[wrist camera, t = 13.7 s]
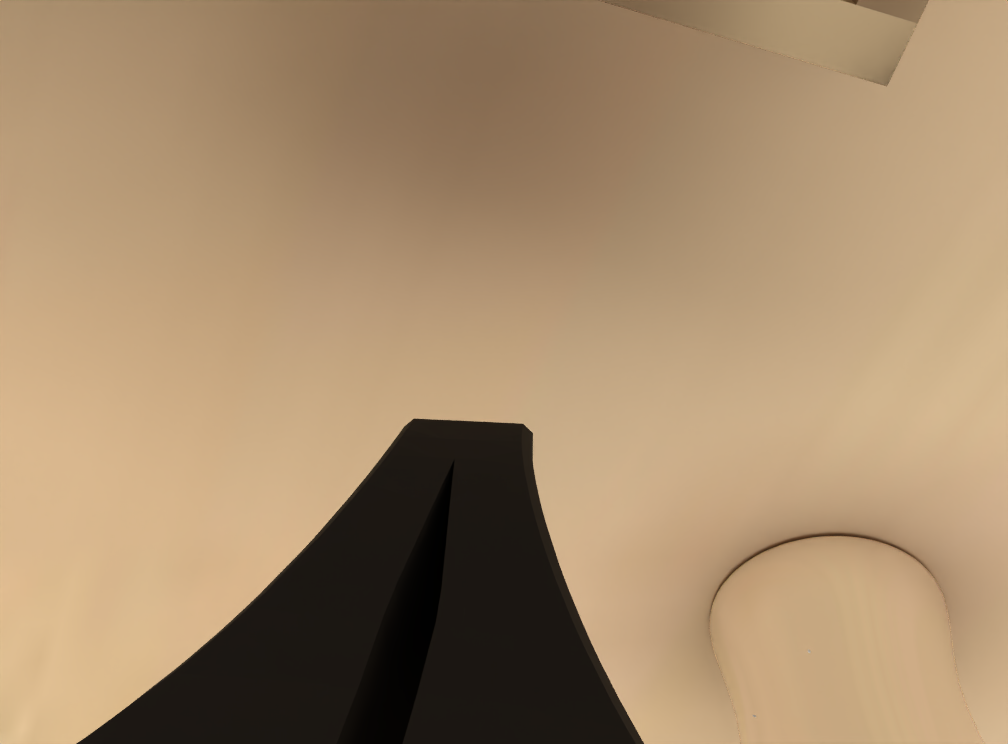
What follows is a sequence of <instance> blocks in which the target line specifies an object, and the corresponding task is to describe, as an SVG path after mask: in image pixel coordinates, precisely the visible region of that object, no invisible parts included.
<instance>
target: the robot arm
mask: <svg viewBox="0 0 1008 744" xmlns="http://www.w3.org/2000/svg"><path fill="white" fill-rule="evenodd" d="M77 744H644V743H643V741H642V739H641V738H640V736H639V734H638V732H637V730H636V729H635V727H634V725H633V723H632V721H631V720H630V718H629V716H628V714H627V712H626V711H625V709H624V707H623V705H622V703H621V702H620V700H619V698H618V696H617V694H616V692H615V690H614V688H613V686H612V684H611V682H610V680H609V678H608V676H607V674H606V672H605V670H604V669H603V667H602V665H601V663H600V661H599V658H598V656H597V654H596V652H595V650H594V648H593V646H592V644H591V641H590V639H589V637H588V635H587V632H586V630H585V628H584V626H583V623H582V621H581V619H580V616H579V614H578V611H577V609H576V607H575V604H574V602H573V599H572V597H571V594H570V592H569V590H568V587H567V584H566V582H565V579H564V576H563V574H562V571H561V568H560V566H559V563H558V560H557V556H556V553H555V550H554V547H553V544H552V541H551V538H550V535H549V532H548V529H547V525H546V522H545V519H544V515H543V511H542V508H541V504H540V499H539V495H538V490H537V485H536V481H535V475H534V469H533V433H532V432H531V431H530V430H529V429H528V428H527V427H526V426H525V425H524V424H515V423H494V422H473V421H452V420H430V419H413V420H412V421H411V422H409V423H408V424H407V425H406V426H405V427H404V428H403V429H402V431H401V432H400V433H399V435H398V436H397V438H396V439H395V440H394V442H393V443H392V444H391V446H390V447H389V448H388V450H387V451H386V452H385V454H384V455H383V456H382V457H381V459H380V460H379V461H378V463H377V464H376V465H375V467H374V468H373V469H372V470H371V472H370V473H369V474H368V475H367V477H366V478H365V479H364V480H363V481H362V483H361V484H360V485H359V486H358V488H357V489H356V490H355V491H354V493H353V494H352V495H351V496H350V497H349V498H348V500H347V501H346V502H345V503H344V504H343V505H342V507H341V508H340V509H339V510H338V511H337V512H336V513H335V515H334V516H333V517H332V518H331V519H330V520H329V522H328V523H327V524H326V525H325V526H324V527H323V528H322V530H321V531H320V532H319V533H318V534H317V535H316V536H315V538H314V539H313V540H312V541H311V542H310V543H309V544H308V545H307V546H306V547H305V548H304V549H303V550H302V551H301V552H300V554H299V555H298V556H297V557H296V558H295V559H294V560H293V561H292V562H291V563H290V564H289V565H288V566H287V567H286V568H285V569H284V570H283V571H282V572H281V573H280V574H279V575H278V576H277V577H276V578H275V579H274V580H273V581H272V582H271V583H270V584H269V585H268V586H267V587H266V588H265V589H264V590H263V591H262V592H261V593H260V594H259V595H258V596H257V597H256V598H255V599H254V600H253V601H252V602H251V603H250V604H249V605H248V606H247V607H246V608H245V609H244V610H243V611H241V612H240V613H239V614H238V615H237V616H236V617H235V618H234V619H233V620H232V621H231V622H230V623H229V624H227V625H226V626H225V627H224V628H223V629H222V630H221V631H220V632H219V633H217V634H216V635H215V636H214V637H213V638H212V639H210V640H209V641H208V642H207V643H206V644H205V645H203V646H202V647H201V648H200V649H199V650H198V651H197V652H195V653H194V654H193V655H192V656H191V657H190V658H188V659H187V660H186V661H185V662H184V663H182V664H181V665H180V666H179V667H178V668H176V669H175V670H174V671H172V672H171V673H170V674H169V675H167V676H166V677H165V678H164V679H162V680H161V681H160V682H158V683H157V684H156V685H155V686H153V687H152V688H151V689H149V690H148V691H147V692H146V693H144V694H143V695H142V696H141V697H139V698H138V699H137V700H135V701H134V702H133V703H132V704H130V705H129V706H128V707H126V708H125V709H124V710H122V711H121V712H120V713H118V714H117V715H116V716H114V717H113V718H112V719H110V720H109V721H108V722H106V723H105V724H104V725H102V726H101V727H100V728H98V729H97V730H95V731H94V732H93V733H91V734H90V735H88V736H87V737H86V738H84V739H83V740H81V741H80V742H78V743H77Z"/></svg>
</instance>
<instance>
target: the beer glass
mask: <svg viewBox="0 0 1008 744" xmlns="http://www.w3.org/2000/svg"><path fill="white" fill-rule="evenodd" d="M709 629H710V637H711V642H712V646H713V650H714V653H715V656H716V660H717V662H718V665H719V668H720V671H721V674H722V676H723V679H724V682H725V685H726V687H727V690H728V693H729V696H730V698H731V701H732V705H733V708H734V712H735V716H736V720H737V725H738V731H739V737H740V744H985V742H984V741H983V739H982V737H981V735H980V733H979V731H978V729H977V727H976V725H975V722H974V720H973V718H972V716H971V714H970V711H969V709H968V707H967V704H966V701H965V698H964V695H963V692H962V689H961V686H960V683H959V678H958V674H957V669H956V664H955V657H954V650H953V643H952V635H951V628H950V621H949V616H948V611H947V606H946V602H945V599H944V596H943V593H942V591H941V589H940V587H939V585H938V583H937V582H936V580H935V579H934V577H933V576H932V575H931V574H930V572H929V571H928V570H927V569H926V568H925V567H924V566H923V565H922V564H921V563H920V562H919V561H917V560H916V559H915V558H913V557H912V556H910V555H909V554H907V553H905V552H903V551H902V550H899V549H897V548H895V547H893V546H890V545H888V544H885V543H882V542H878V541H875V540H870V539H866V538H859V537H851V536H820V537H811V538H805V539H800V540H795V541H791V542H788V543H785V544H782V545H779V546H776V547H774V548H771V549H769V550H767V551H764V552H762V553H760V554H758V555H757V556H755V557H753V558H752V559H750V560H749V561H747V562H746V563H744V564H743V565H741V566H740V567H739V568H738V569H737V570H735V571H734V572H733V573H732V574H731V575H730V576H729V577H728V578H727V580H726V581H725V582H724V583H723V585H722V586H721V588H720V589H719V591H718V592H717V594H716V596H715V599H714V601H713V604H712V608H711V613H710V623H709Z"/></svg>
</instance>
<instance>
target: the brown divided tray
mask: <svg viewBox="0 0 1008 744" xmlns="http://www.w3.org/2000/svg"><path fill="white" fill-rule="evenodd" d="M599 1H603V2H606V3H609V4H613V5H616V6H619V7H623V8H626V9H629V10H633V11H636V12H639V13H643V14H646V15H649V16H653V17H656V18H659V19H663V20H666V21H670V22H673V23H676V24H680V25H683V26H686V27H690V28H693V29H696V30H700V31H703V32H706V33H710V34H713V35H716V36H720V37H723V38H726V39H730V40H733V41H737V42H740V43H743V44H747V45H750V46H753V47H757V48H760V49H763V50H767V51H770V52H773V53H777V54H780V55H783V56H787V57H790V58H793V59H797V60H800V61H803V62H807V63H810V64H814V65H817V66H820V67H824V68H827V69H830V70H834V71H837V72H840V73H844V74H847V75H850V76H854V77H857V78H860V79H864V80H867V81H870V82H874V83H877V84H881V85H884V86H887V85H888V83H889V81H890V79H891V77H892V75H893V73H894V71H895V69H896V66H897V64H898V62H899V60H900V58H901V56H902V54H903V52H904V50H905V48H906V46H907V44H908V42H909V40H910V38H911V36H912V34H913V32H914V30H915V28H916V26H917V24H918V21H919V19H920V17H921V15H922V13H923V11H924V9H925V7H926V5H927V3H928V1H929V0H599Z"/></svg>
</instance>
